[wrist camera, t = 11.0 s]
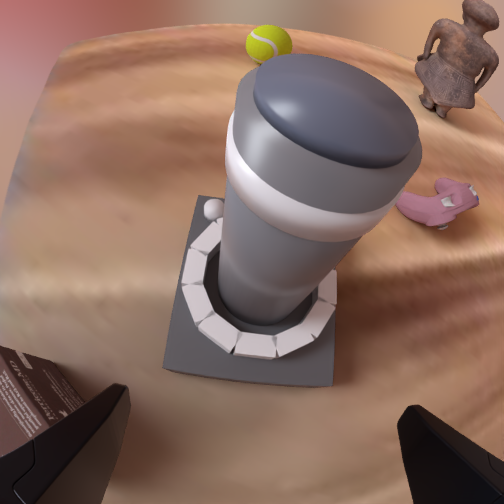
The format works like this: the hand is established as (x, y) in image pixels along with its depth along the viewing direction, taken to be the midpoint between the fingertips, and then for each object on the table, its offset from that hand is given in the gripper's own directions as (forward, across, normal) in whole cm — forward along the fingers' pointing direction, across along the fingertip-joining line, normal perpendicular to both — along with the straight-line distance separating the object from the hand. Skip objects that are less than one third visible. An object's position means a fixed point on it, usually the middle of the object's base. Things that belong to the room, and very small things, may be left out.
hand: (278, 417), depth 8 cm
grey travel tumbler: (+11, 0, 0) cm, 11 cm away
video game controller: (+22, -19, -6) cm, 30 cm away
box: (+6, +14, +12) cm, 19 cm away
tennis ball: (+39, +2, -22) cm, 45 cm away
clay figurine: (+40, -29, -24) cm, 55 cm away
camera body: (+14, 0, +3) cm, 14 cm away
